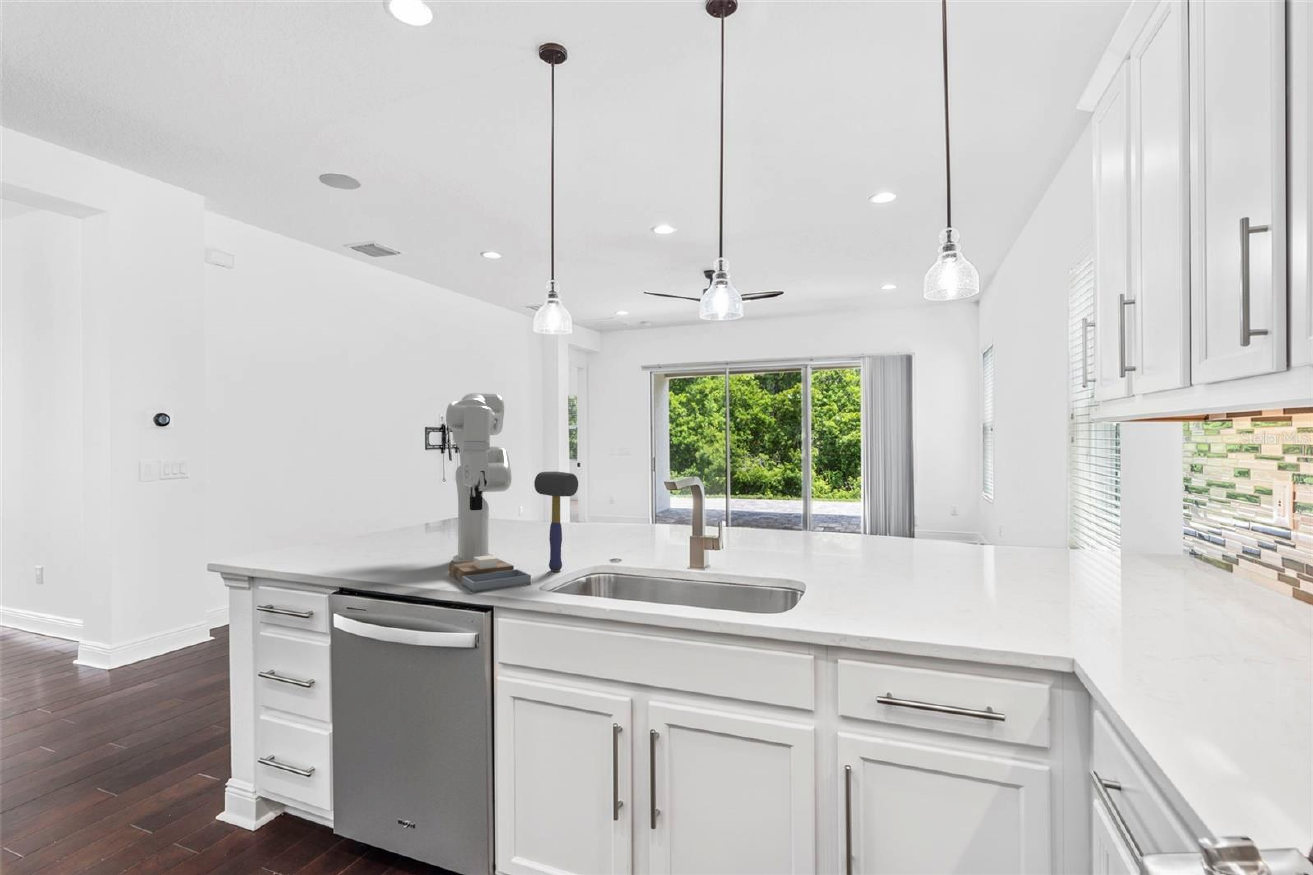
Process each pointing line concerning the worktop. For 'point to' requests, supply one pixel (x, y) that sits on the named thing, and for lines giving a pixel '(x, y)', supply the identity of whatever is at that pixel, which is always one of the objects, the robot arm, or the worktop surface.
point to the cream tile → (485, 562)
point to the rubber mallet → (556, 507)
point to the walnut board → (475, 569)
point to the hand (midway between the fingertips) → (475, 509)
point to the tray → (496, 580)
